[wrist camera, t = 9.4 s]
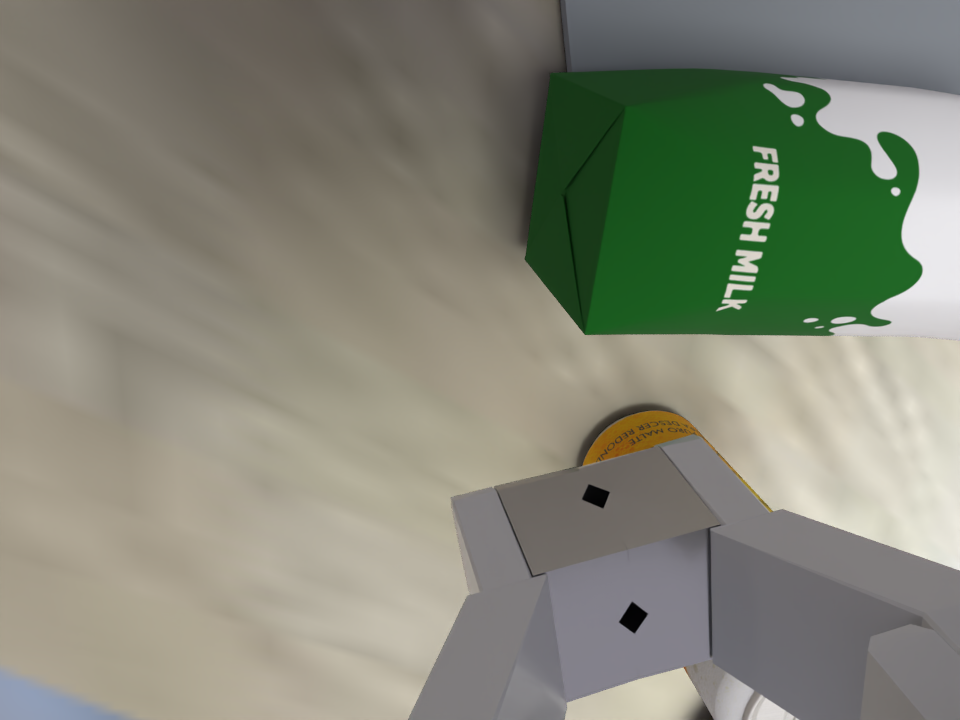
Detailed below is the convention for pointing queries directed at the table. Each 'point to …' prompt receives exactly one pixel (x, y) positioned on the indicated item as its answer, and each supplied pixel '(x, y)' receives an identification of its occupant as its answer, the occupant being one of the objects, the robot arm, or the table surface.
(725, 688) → the beer can
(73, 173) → the table surface
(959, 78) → the mat
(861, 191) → the white carton
